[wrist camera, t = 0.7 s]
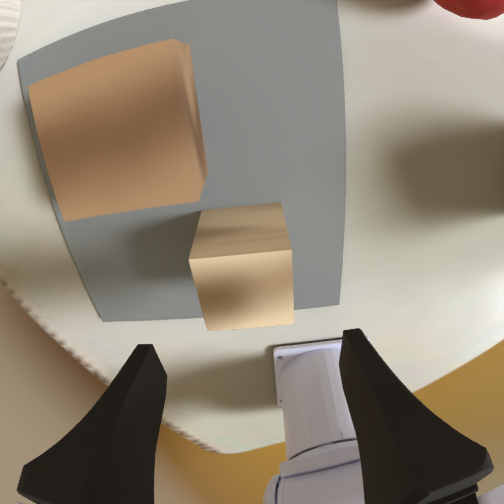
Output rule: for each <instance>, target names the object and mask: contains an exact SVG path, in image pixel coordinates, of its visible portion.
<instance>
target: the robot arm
mask: <svg viewBox="0 0 504 504" xmlns="http://www.w3.org/2000/svg"><path fill="white" fill-rule="evenodd" d="M273 357H274V368H275V380H276V391H277V402H278V407H280V408H283V418H284V429H285V441H286V452H287V461H285V462H281V463H280V474H277V475H275V476H273V477H272V479H271V481H270V482H269V484H268V486H267V487H266V490H265V493H264V499H263V504H504V484H502V485H500V486H498V487H497V488H495V489H493V490H491V491H489V492H487V493H485V494H483V495H481V496H479V497H476V494H475V492H477V491H478V486H477V482H479V481H480V480H482V479H483V478H485V477H486V476H487V475H489V474H490V473H491V472H492V471H493V469H494V466H493V464H492V461H491V458H490V455H489V453H488V451H487V449H486V448H485V447H483V446H481V445H479V444H478V443H476V442H474V441H472V440H470V439H469V438H467V437H466V436H464V435H463V434H461V433H460V432H458V431H457V430H455V429H454V428H452V427H451V426H450V425H448V424H447V423H446V422H444V421H443V420H442V419H440V418H439V417H438V416H436V415H435V414H434V413H433V412H432V411H430V410H429V409H428V408H427V407H426V406H425V405H423V403H422V402H421V401H419V400H418V399H417V398H416V397H415V396H414V395H413V394H412V393H411V392H410V391H409V390H408V388H407V387H406V386H405V385H404V384H403V383H402V382H401V381H400V380H399V379H398V377H397V376H396V375H395V374H394V373H393V372H392V370H391V369H390V368H389V367H388V365H387V364H386V363H385V362H384V360H383V359H382V358H381V357H380V355H379V354H378V353H377V351H376V350H375V349H374V347H373V346H372V345H371V343H370V339H369V337H368V336H365V335H364V333H363V332H362V330H361V329H359V328H357V329H350V330H343V338H342V339H340V340H332V341H324V342H316V343H308V344H299V345H289V346H279V347H276V348H274V349H273ZM166 386H167V374H166V372H165V370H164V368H163V366H162V364H161V362H160V360H159V357H158V355H157V353H156V351H155V349H154V346H153V344H138V345H137V346H136V348H135V349H134V351H133V352H132V354H131V355H130V357H129V358H128V360H127V361H126V363H125V364H124V366H123V367H122V368H121V370H120V371H119V373H118V374H117V376H116V377H115V378H114V380H113V381H112V383H111V384H110V385H109V387H108V388H107V390H106V391H105V392H104V393H103V395H102V396H101V397H100V399H99V400H98V401H97V403H96V404H95V405H94V406H93V407H92V409H91V410H90V411H89V412H88V413H87V414H86V416H85V417H84V418H83V419H82V420H81V421H80V422H79V423H78V424H77V425H76V426H75V427H74V428H73V429H72V430H71V431H70V432H69V433H68V434H66V435H65V436H64V437H63V438H62V439H61V440H60V441H59V442H57V443H56V444H55V445H54V446H52V447H51V448H50V449H48V450H47V451H46V452H44V453H43V454H42V455H40V456H39V457H37V458H35V459H34V460H32V461H31V462H29V463H28V464H26V465H24V467H23V470H22V473H21V476H20V480H19V483H18V487H17V491H18V493H19V494H21V495H22V496H24V497H26V498H27V499H29V500H31V501H33V502H35V503H37V504H154V467H155V452H156V445H157V439H158V434H159V429H160V424H161V419H162V414H163V409H164V404H165V398H166ZM16 504H23V503H21V502H18V501H17V502H16Z"/></svg>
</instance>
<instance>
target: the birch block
mask: <svg viewBox="0 0 504 504" xmlns="http://www.w3.org/2000/svg"><path fill="white" fill-rule="evenodd" d="M189 263H190V267H191V271H192V275H193V279H194V283H195V287H196V291H197V294H198V298H199V302H200V306H201V309H202V313H203V316H204V320H205V324H206V327H207V331H212V330H227V329H241V328H254V327H265V326H276V325H286V324H294V297H293V268H292V249H291V244H290V240H289V235H288V231H287V226H286V222H285V218H284V213H283V209H282V205H281V202H278V203H267V204H257V205H247V206H237V207H228V208H218V209H210V210H202V211H201V215H200V218H199V222H198V226H197V229H196V233H195V237H194V241H193V244H192V248H191V252H190V256H189Z"/></svg>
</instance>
